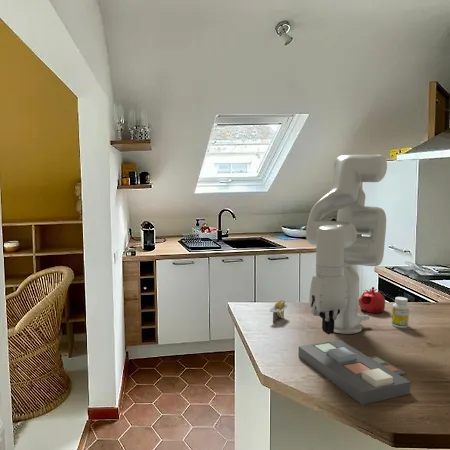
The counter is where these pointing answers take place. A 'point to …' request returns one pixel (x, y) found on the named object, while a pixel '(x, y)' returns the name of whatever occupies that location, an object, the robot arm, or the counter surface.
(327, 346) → the sage key
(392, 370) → the card
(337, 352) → the blue key
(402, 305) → the supplement bottle
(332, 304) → the robot arm
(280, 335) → the counter surface
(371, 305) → the pomegranate
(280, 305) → the platform
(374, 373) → the cream key
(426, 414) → the counter surface
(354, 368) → the terracotta key
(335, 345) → the keyguard frame
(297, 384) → the counter surface
